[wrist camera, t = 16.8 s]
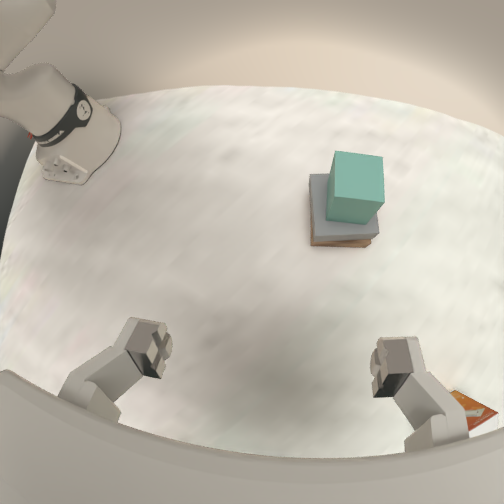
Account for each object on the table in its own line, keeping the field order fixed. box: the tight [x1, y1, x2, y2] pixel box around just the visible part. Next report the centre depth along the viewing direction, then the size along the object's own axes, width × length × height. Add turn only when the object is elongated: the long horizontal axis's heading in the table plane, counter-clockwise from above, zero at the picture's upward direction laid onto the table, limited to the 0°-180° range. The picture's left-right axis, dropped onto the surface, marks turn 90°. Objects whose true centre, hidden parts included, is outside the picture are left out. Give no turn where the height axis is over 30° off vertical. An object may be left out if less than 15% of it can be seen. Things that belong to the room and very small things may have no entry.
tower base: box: [311, 214, 371, 248], centre depth 39 cm, size 8×8×4 cm
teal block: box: [326, 151, 385, 225], centre depth 30 cm, size 5×5×8 cm
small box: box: [450, 390, 499, 438], centre depth 26 cm, size 8×6×13 cm
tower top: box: [309, 174, 379, 242], centre depth 35 cm, size 8×8×4 cm
